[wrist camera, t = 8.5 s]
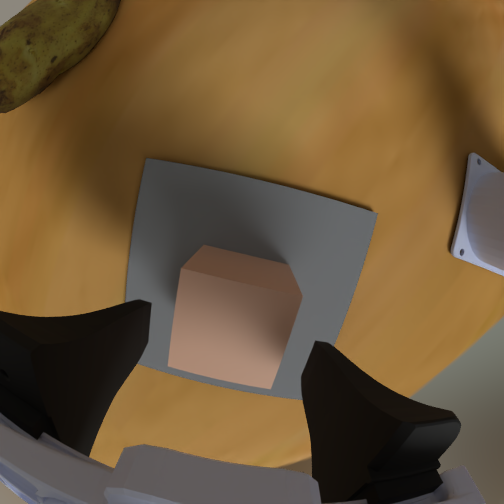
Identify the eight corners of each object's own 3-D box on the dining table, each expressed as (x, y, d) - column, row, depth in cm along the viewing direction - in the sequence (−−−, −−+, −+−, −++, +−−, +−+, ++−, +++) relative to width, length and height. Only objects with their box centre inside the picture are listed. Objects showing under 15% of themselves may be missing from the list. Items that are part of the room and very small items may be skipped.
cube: (288, 264, 16) (303, 296, 11) (267, 338, 17) (270, 389, 12) (203, 244, 16) (181, 267, 11) (189, 321, 17) (167, 366, 12)
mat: (373, 212, 16) (377, 213, 15) (307, 395, 19) (309, 400, 18) (149, 159, 15) (146, 157, 15) (126, 354, 18) (123, 358, 18)
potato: (159, 22, 13) (116, -44, 5) (33, 139, 15) (-42, 130, 7) (119, -17, 12) (81, -66, 4) (14, 82, 13) (-44, 65, 6)
